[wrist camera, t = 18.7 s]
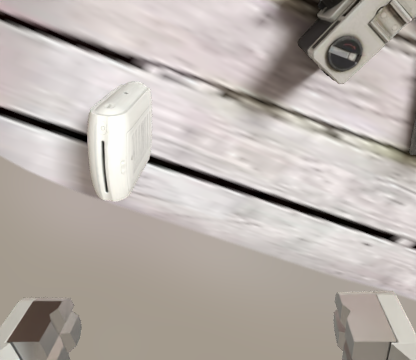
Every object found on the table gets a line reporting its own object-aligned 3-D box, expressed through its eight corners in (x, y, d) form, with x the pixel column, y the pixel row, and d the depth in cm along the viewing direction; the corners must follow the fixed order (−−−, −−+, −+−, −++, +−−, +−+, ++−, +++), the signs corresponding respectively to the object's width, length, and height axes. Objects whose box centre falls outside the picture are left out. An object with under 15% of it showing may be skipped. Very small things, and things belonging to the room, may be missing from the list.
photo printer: (118, 77, 41) (74, 111, 30) (154, 81, 41) (123, 117, 30) (121, 156, 46) (85, 208, 35) (153, 159, 46) (126, 213, 35)
